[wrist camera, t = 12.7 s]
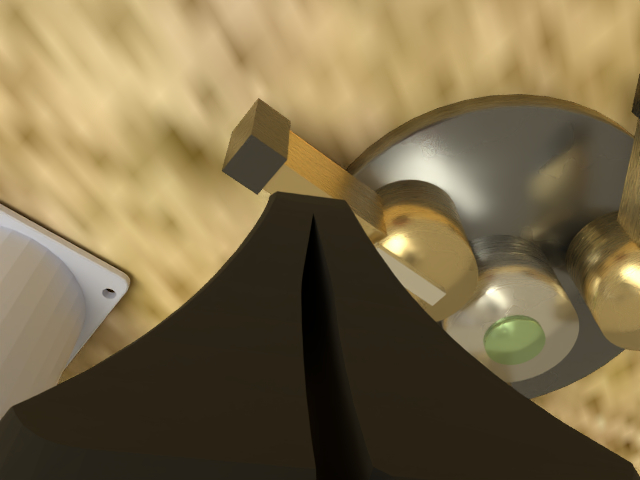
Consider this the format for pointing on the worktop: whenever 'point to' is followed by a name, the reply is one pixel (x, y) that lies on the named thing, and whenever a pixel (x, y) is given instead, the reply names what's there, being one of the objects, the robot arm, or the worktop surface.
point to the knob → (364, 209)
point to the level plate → (517, 223)
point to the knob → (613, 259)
